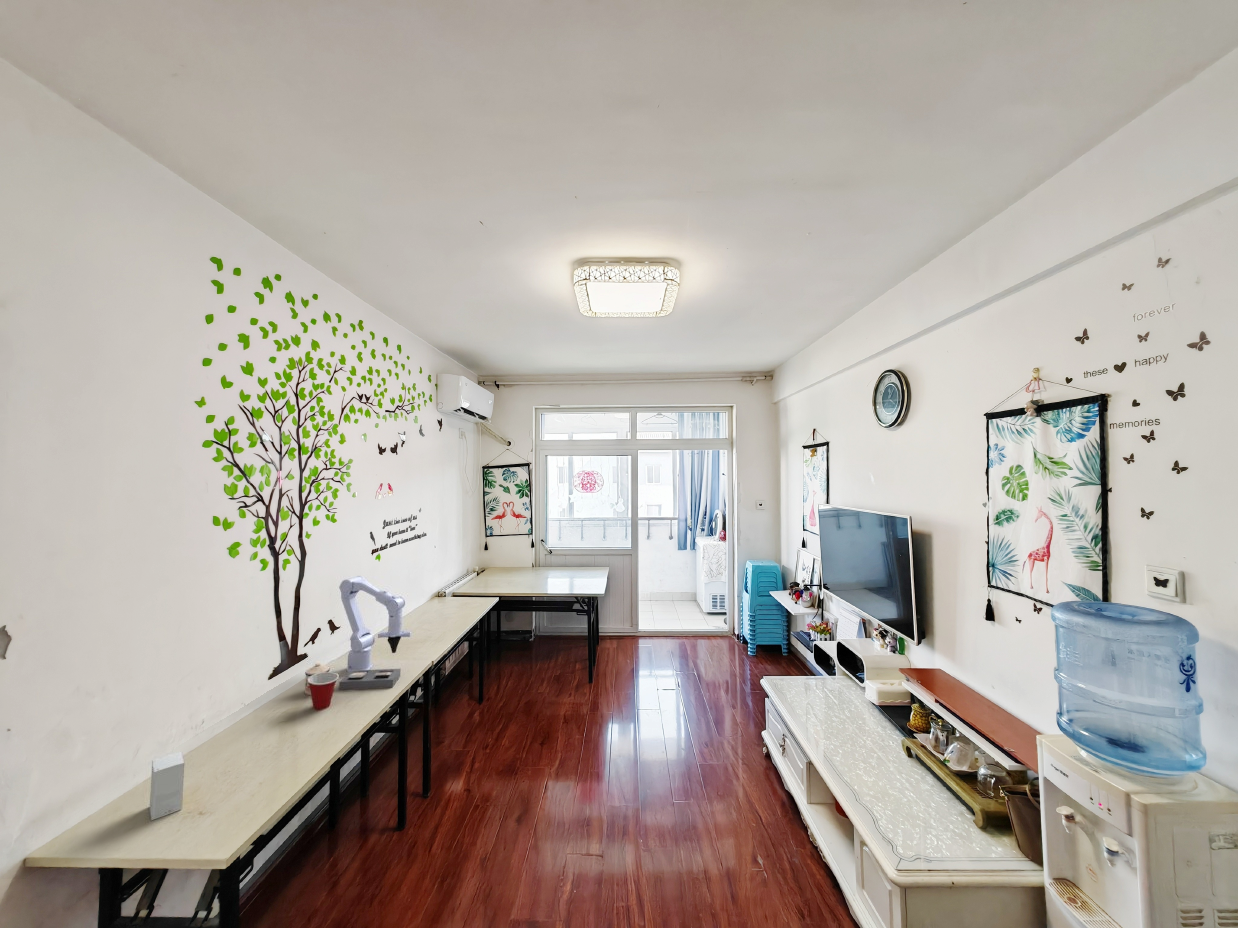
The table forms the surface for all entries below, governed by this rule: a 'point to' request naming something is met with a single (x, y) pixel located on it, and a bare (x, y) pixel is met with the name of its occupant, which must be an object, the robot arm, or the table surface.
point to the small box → (166, 785)
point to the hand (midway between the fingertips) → (394, 652)
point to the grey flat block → (370, 679)
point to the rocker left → (357, 674)
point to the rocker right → (384, 673)
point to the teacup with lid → (311, 671)
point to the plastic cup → (322, 689)
